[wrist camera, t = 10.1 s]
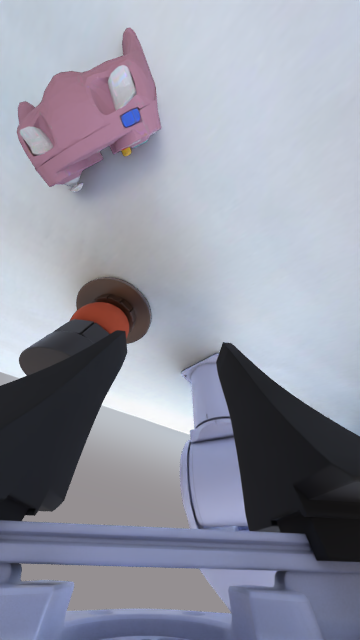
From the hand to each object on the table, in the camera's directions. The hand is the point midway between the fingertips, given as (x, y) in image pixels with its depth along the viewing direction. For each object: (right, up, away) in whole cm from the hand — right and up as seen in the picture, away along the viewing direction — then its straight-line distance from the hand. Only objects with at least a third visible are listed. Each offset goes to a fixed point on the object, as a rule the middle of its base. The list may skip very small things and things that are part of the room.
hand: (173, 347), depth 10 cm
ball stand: (-9, +3, +9) cm, 13 cm away
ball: (-9, +1, +6) cm, 10 cm away
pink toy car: (-6, +17, +2) cm, 18 cm away
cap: (-9, 0, +3) cm, 9 cm away
